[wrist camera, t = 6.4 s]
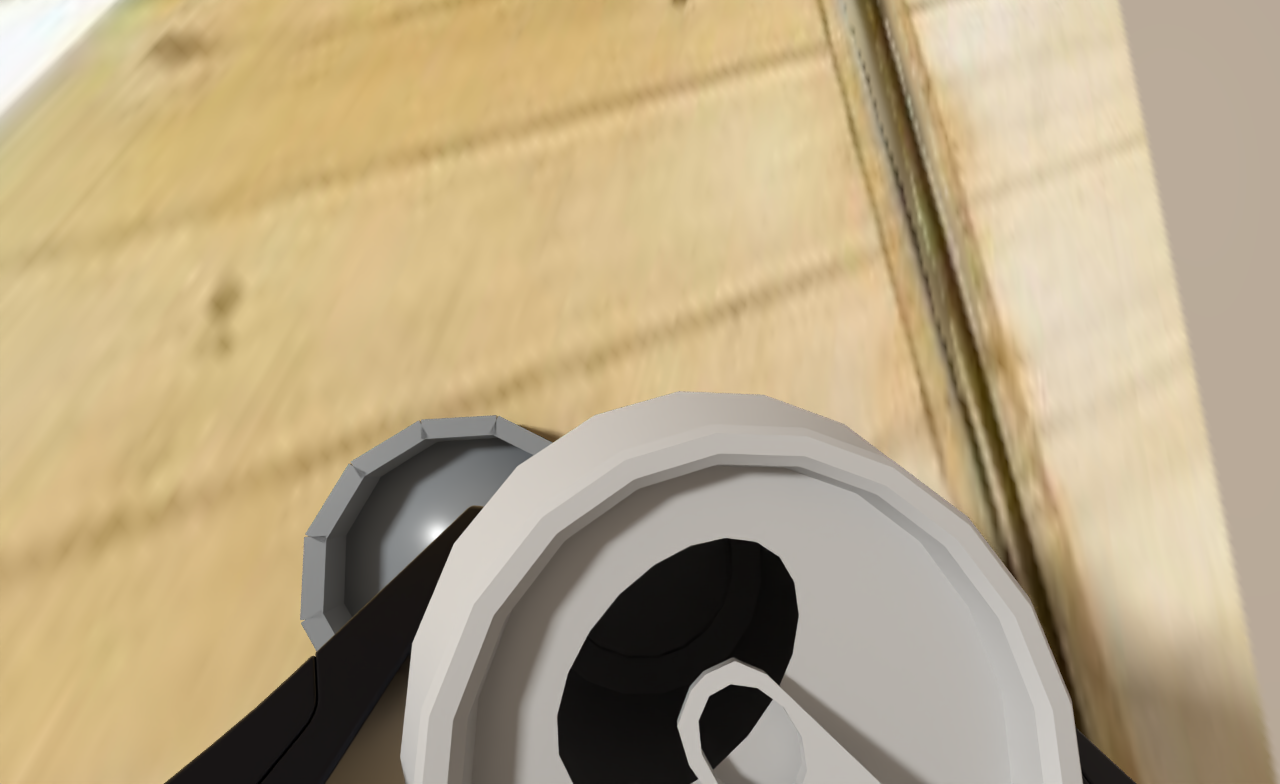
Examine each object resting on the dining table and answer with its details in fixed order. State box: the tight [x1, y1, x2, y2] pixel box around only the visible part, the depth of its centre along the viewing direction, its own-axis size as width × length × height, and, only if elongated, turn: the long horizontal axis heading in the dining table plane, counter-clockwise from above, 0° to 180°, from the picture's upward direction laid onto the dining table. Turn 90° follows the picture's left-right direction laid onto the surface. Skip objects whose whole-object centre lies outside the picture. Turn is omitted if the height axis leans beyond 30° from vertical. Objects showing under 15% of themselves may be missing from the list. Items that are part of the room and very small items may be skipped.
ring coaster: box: [300, 415, 552, 651], centre depth 19 cm, size 12×12×2 cm
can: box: [400, 391, 1083, 784], centre depth 10 cm, size 8×8×12 cm
